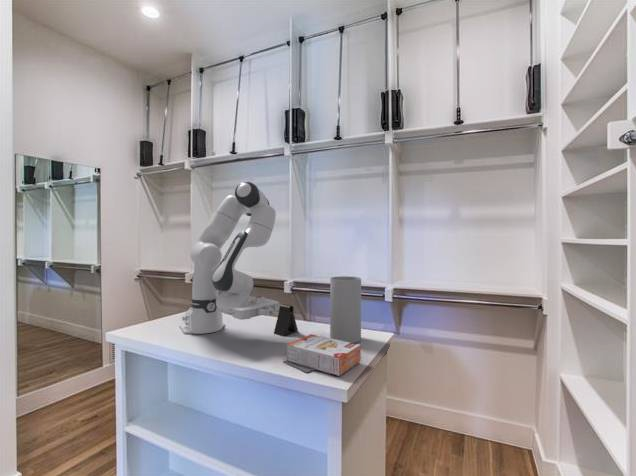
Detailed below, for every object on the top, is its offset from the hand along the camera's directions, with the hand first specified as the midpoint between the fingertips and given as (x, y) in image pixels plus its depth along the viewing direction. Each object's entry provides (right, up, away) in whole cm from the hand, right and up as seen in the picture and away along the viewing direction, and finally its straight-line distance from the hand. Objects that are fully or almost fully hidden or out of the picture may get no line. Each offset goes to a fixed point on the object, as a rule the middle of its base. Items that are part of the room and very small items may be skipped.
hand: (271, 312), depth 121 cm
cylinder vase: (+29, -14, +11) cm, 34 cm away
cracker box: (+10, -10, -7) cm, 16 cm away
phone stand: (+3, -14, +20) cm, 25 cm away
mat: (+16, -14, -12) cm, 24 cm away
